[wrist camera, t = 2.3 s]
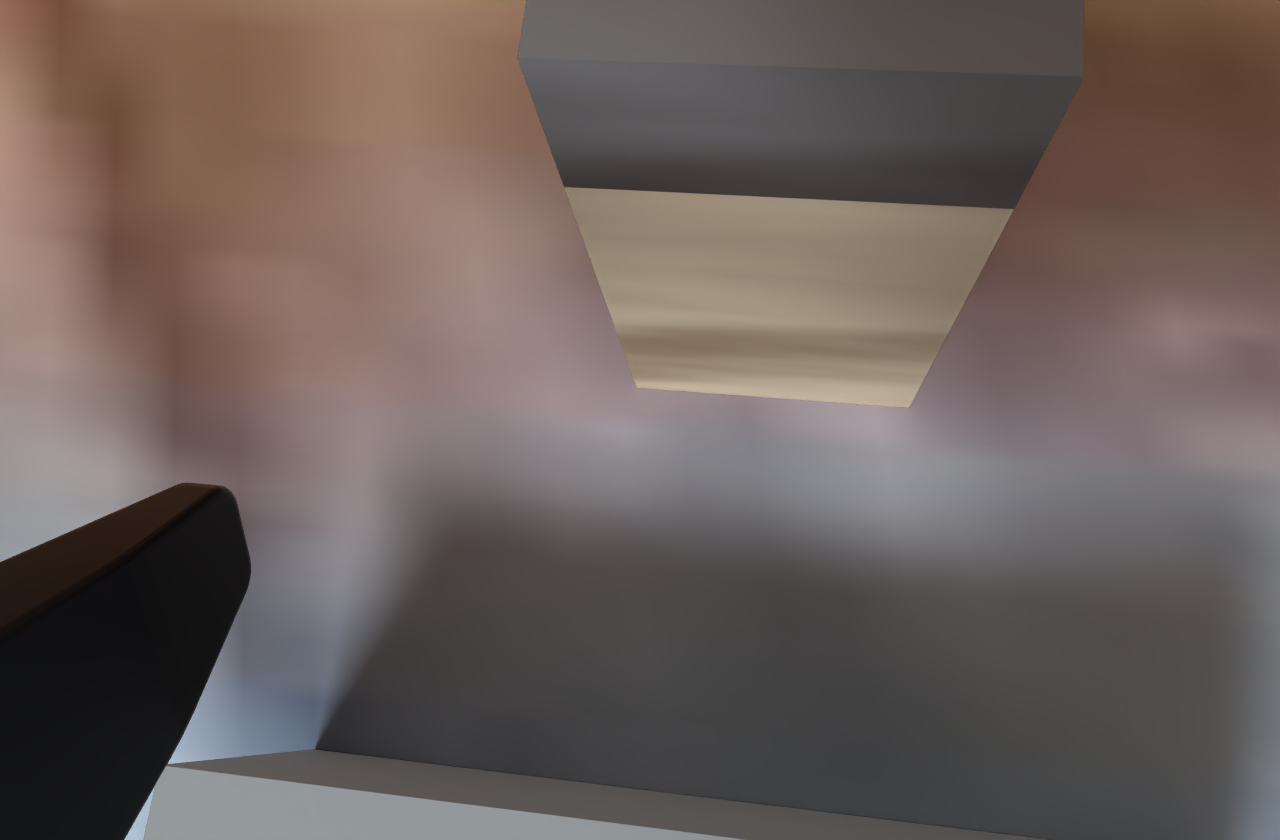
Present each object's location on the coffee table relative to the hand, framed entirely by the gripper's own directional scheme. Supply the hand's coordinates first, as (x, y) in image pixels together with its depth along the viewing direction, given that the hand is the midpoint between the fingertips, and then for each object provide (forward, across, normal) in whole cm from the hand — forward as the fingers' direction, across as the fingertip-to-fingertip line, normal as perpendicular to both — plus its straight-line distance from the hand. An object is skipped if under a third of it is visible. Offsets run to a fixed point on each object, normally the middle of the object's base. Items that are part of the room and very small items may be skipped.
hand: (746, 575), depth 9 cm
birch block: (+16, 0, +4) cm, 16 cm away
